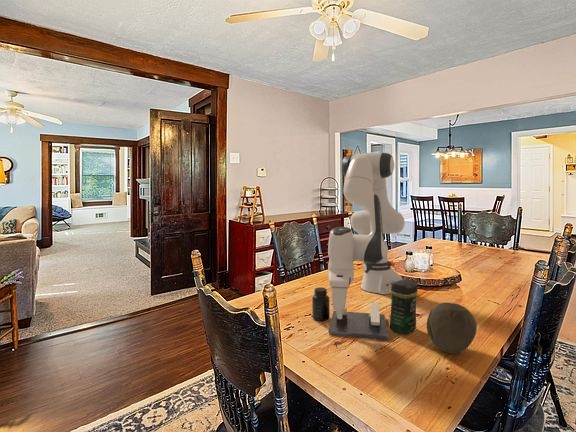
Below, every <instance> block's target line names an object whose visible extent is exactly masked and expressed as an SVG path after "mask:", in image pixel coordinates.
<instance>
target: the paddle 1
mask: <svg viewBox="0 0 576 432" xmlns="http://www.w3.org/2000/svg"><path fill="white" fill-rule="evenodd" d="M347 310H348V309H347V307H345V309H344V310H343V315H348V313H346V312H348V311H347ZM336 315H337V312H336Z"/></svg>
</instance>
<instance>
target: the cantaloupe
mask: <svg viewBox="0 0 576 432" xmlns="http://www.w3.org/2000/svg"><path fill="white" fill-rule="evenodd" d="M477 330H478V325H477V321H476V318H475V317H474V315H473V314H472V312H471V311H470V310H469V309H468V308H467V307H466V306H464V305H461V304H459V303H454V302H449V301H448V302H446V301H445V302H441V303H438V304H436V305H435V306H434V307H433V308H432V309H431V310H430V312H429V313H428V316H427V319H426V332H427V336H428V338H429V339H430V341H431V343H433V345H434V346H435V347H436V348H438V349H439V350H442V351H444V352H445V353H448V354H458V353H460V352H463V351H465V350H466V349H468V347H470V345H471V344H472V343H473V341H474V339H475V338H476V334H477Z"/></svg>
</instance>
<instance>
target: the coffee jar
mask: <svg viewBox="0 0 576 432" xmlns="http://www.w3.org/2000/svg"><path fill="white" fill-rule="evenodd" d="M390 294H391V295H390V296H391V304H390V318H389V329H390V330H391V331H392V332H394V333H395V334H397V335H404V336H406V335H407V336H408V335H410V334H412V333H414V332H415V331H416V329H417V297H418V283H417V281H415V280H414V279H409V278H406V277H405V278H402V280H399V281H396V282H394V283H392V285H391V293H390Z"/></svg>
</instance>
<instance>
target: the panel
mask: <svg viewBox="0 0 576 432" xmlns="http://www.w3.org/2000/svg"><path fill="white" fill-rule="evenodd" d="M346 313H348V315H343V316H342V319H337V315H336V310H333V312H332V314H331V315H332V317H331V321H330V324H329V329H328V335H329V336H335V337H336V336H337V337H347V338H348V337H349V338H360V339H369V340H370V339H371V340H380V341H388V339H389V337H388V336H389V335H388V330H387V329H388V328H387V323H386V315H385V314H384V313H383V314H381V313H379V315H381V318H380V326H378V325H371V317H369V314H371V312H370V313H368V312H357V311H356V312H355V311H347V312H346Z"/></svg>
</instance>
